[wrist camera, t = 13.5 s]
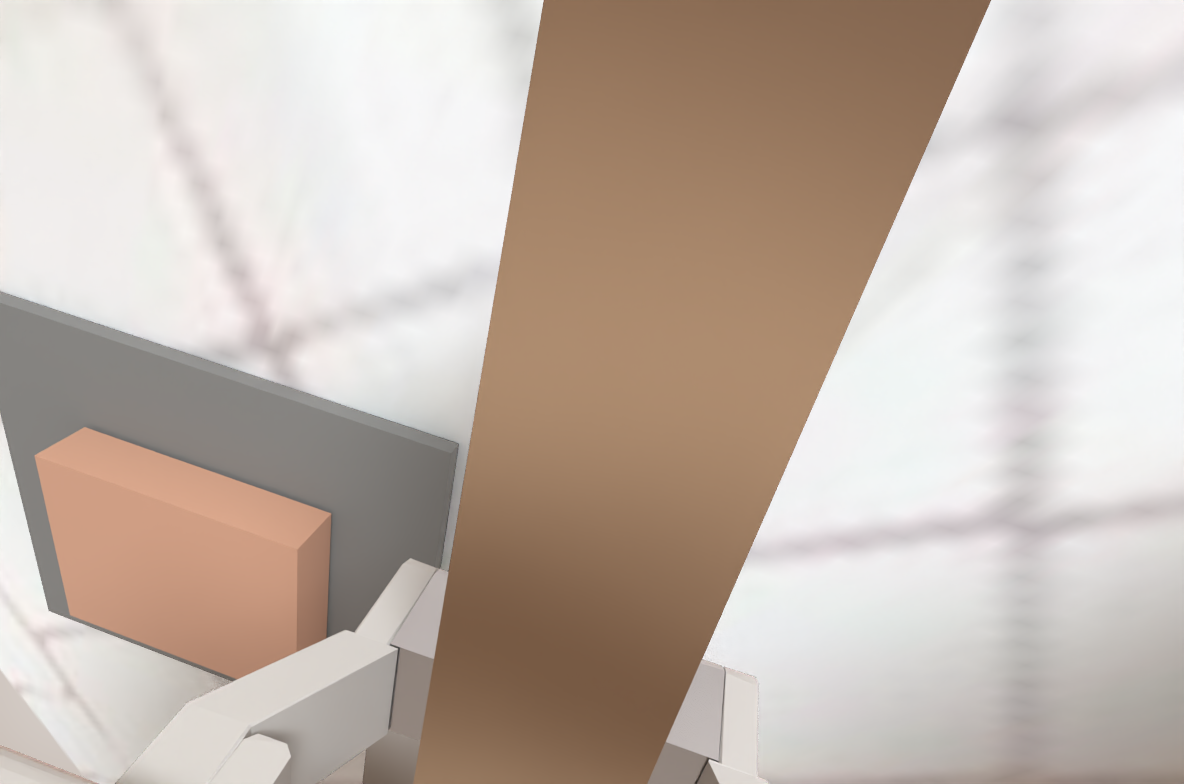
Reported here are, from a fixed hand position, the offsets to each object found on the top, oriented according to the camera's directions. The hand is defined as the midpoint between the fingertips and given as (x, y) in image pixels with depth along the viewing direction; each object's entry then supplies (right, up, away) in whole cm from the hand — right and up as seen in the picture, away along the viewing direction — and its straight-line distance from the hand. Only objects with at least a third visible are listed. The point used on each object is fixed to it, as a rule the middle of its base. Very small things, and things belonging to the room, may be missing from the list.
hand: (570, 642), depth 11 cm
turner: (0, 0, +2) cm, 2 cm away
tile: (-14, +1, +13) cm, 19 cm away
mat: (-14, -2, +17) cm, 22 cm away
